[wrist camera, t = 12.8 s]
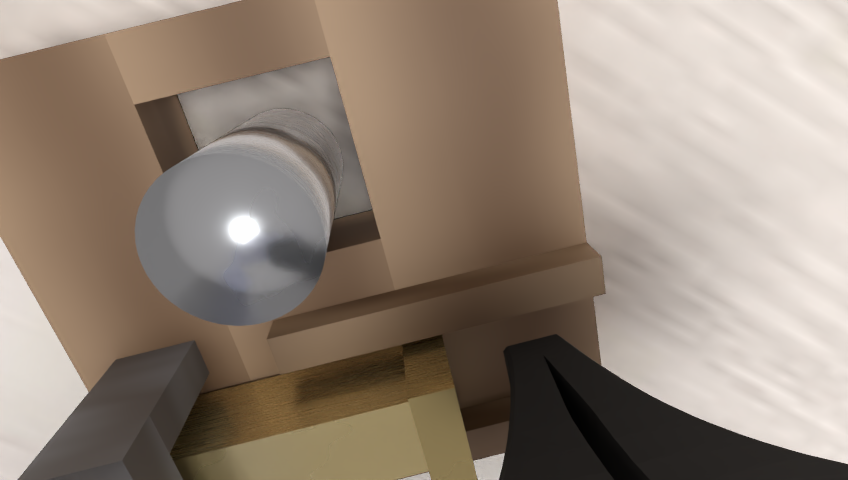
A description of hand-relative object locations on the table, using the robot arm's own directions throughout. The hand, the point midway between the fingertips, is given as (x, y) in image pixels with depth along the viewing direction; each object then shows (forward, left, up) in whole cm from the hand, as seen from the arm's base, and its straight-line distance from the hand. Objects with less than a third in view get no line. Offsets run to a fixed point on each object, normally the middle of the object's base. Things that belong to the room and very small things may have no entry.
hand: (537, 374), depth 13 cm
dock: (-5, +3, -4) cm, 7 cm away
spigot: (-5, +6, -4) cm, 8 cm away
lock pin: (-6, 0, -1) cm, 6 cm away
